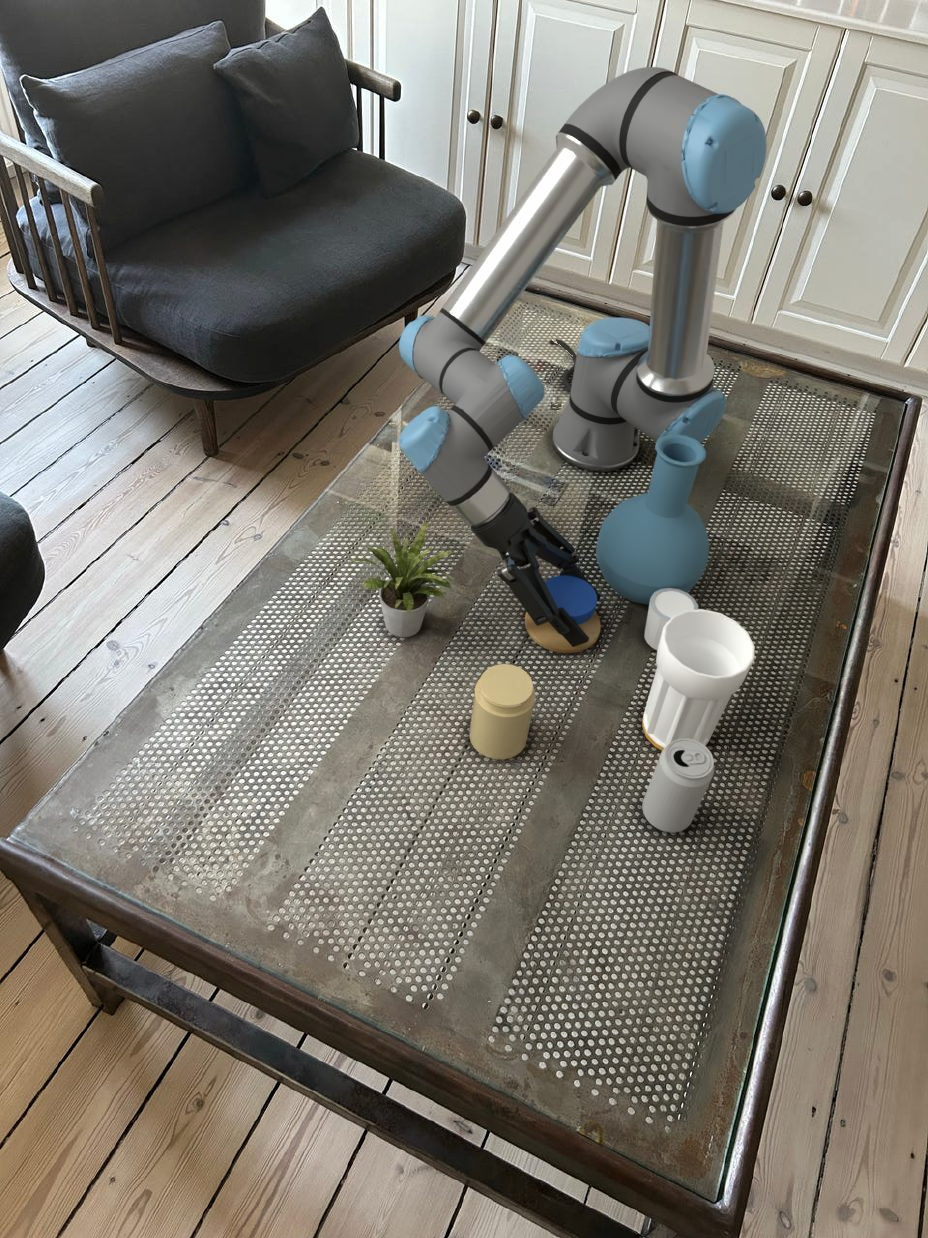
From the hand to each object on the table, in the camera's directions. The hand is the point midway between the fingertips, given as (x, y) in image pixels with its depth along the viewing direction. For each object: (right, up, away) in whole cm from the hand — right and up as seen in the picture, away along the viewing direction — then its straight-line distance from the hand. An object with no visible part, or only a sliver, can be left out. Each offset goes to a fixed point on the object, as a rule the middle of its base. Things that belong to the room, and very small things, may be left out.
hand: (587, 620), depth 141 cm
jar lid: (-3, +3, -2) cm, 5 cm away
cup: (+11, -15, -9) cm, 20 cm away
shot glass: (+11, -3, +2) cm, 12 cm away
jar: (-13, -15, -12) cm, 24 cm away
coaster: (-3, -1, +2) cm, 4 cm away
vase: (+10, +6, +10) cm, 15 cm away
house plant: (-27, -1, -1) cm, 27 cm away
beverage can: (+8, -24, -19) cm, 31 cm away
